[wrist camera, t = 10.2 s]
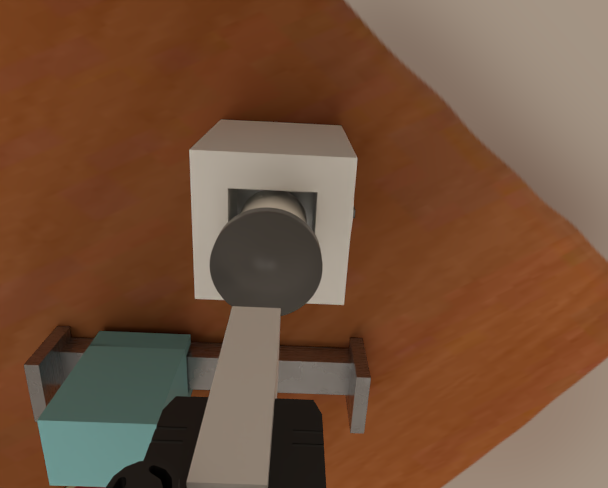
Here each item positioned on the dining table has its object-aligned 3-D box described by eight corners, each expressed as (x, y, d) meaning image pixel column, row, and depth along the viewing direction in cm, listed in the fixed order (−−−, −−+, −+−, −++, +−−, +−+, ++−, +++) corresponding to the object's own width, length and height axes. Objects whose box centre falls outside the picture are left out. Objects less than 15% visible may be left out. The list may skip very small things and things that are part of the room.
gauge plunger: (228, 259, 27) (210, 315, 22) (228, 175, 25) (208, 212, 20) (315, 263, 27) (318, 319, 22) (320, 179, 26) (326, 217, 20)
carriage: (106, 385, 40) (49, 485, 31) (99, 330, 38) (37, 420, 29) (192, 388, 40) (161, 488, 31) (190, 334, 38) (156, 424, 29)
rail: (65, 378, 40) (35, 422, 36) (57, 326, 38) (23, 364, 34) (356, 389, 41) (363, 433, 36) (362, 338, 39) (370, 377, 34)
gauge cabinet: (222, 232, 36) (195, 298, 26) (220, 119, 32) (189, 149, 23) (340, 237, 36) (354, 305, 26) (350, 125, 33) (370, 158, 23)
